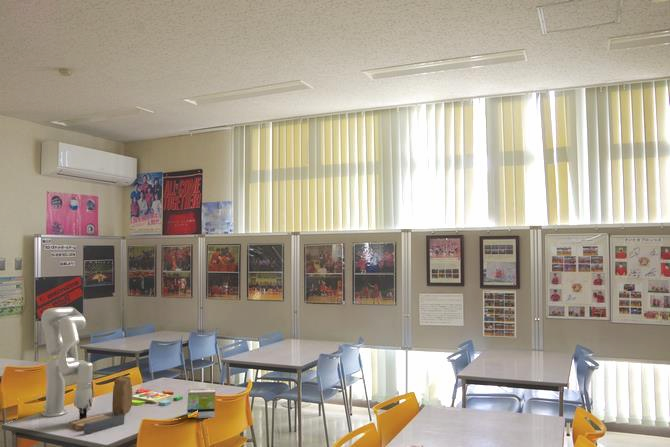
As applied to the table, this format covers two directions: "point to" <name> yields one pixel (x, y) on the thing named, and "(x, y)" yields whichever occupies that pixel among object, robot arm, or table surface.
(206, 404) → the tea box
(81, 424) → the walnut slab
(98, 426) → the block
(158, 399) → the pattern blocks set
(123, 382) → the block
